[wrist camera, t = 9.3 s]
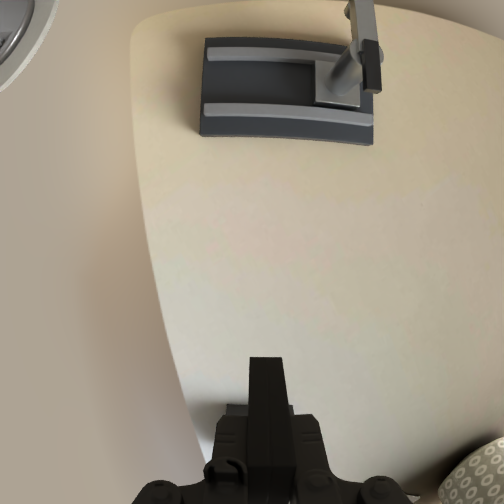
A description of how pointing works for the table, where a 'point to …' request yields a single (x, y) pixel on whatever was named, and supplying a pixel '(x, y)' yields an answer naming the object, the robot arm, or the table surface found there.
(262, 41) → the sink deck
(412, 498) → the grey flat square panel
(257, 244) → the table surface
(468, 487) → the planter
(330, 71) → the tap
